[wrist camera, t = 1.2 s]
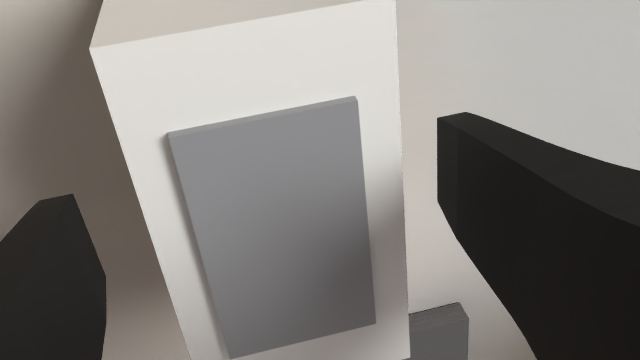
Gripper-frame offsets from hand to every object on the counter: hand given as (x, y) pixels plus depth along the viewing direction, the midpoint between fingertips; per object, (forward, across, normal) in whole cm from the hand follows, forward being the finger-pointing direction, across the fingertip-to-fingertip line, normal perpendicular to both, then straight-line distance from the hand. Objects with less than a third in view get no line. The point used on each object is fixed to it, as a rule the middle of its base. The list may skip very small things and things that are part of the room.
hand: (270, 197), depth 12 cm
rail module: (+5, 0, 0) cm, 5 cm away
